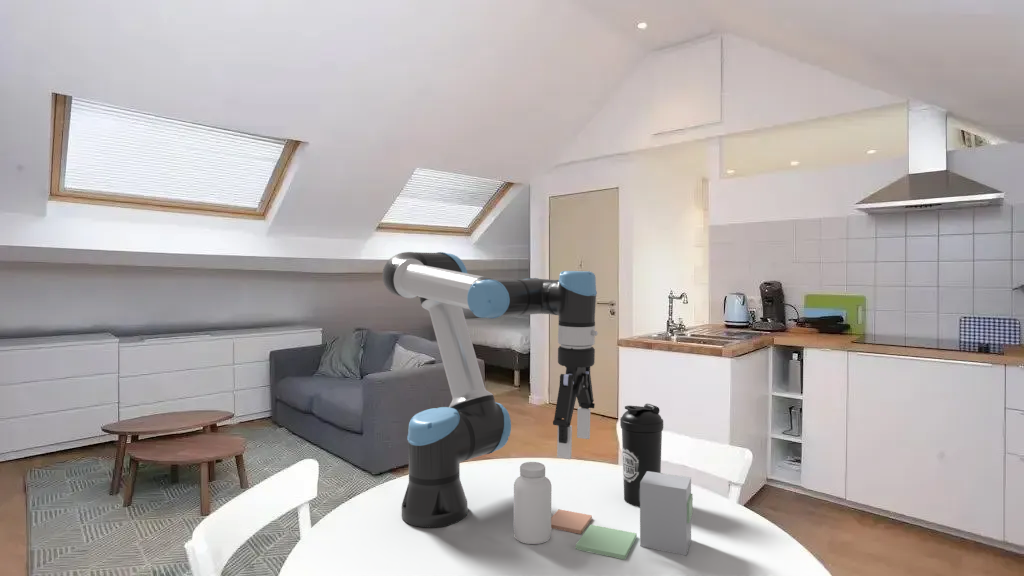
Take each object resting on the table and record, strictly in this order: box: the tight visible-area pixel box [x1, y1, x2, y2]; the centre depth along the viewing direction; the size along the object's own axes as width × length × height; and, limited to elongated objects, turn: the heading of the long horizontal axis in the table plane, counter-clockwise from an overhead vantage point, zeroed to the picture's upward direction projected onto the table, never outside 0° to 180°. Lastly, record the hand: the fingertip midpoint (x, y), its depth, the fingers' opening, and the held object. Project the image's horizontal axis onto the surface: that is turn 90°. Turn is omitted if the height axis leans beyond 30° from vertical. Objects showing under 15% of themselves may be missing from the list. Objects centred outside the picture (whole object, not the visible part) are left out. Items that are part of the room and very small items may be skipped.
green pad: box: [575, 523, 638, 560], centre depth 113 cm, size 10×10×1 cm
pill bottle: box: [513, 461, 552, 545], centre depth 116 cm, size 8×8×15 cm
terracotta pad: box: [551, 509, 593, 535], centre depth 122 cm, size 8×8×1 cm
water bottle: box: [619, 403, 664, 508], centre depth 134 cm, size 10×10×23 cm
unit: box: [639, 471, 694, 556], centre depth 113 cm, size 10×7×13 cm
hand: (574, 447), depth 115 cm, fingers open, 13 cm apart
